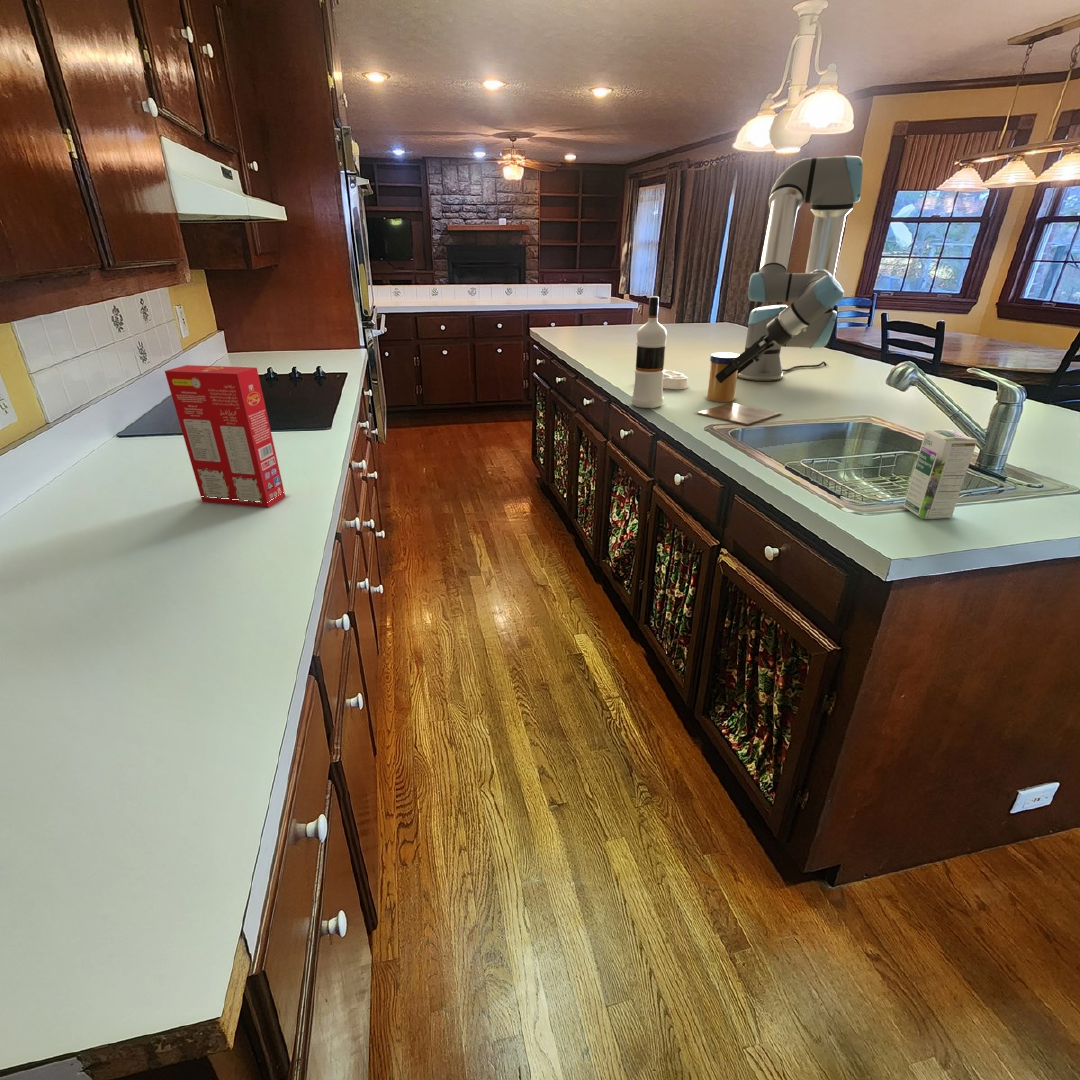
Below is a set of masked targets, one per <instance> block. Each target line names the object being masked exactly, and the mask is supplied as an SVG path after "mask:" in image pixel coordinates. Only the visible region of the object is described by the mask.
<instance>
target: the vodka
mask: <svg viewBox="0 0 1080 1080" xmlns="http://www.w3.org/2000/svg"><path fill="white" fill-rule="evenodd" d="M659 302H660V297H659V296H656V295H652V296H649V301H648V314H647V315H648V317H647V322H645V323H644V324H643V325H641V326H640V327H639V328H638V329H637V332H636V342H635V343H636V356H635V370H634V386H633V392H632V396H631V404H632V405H633V406H634V407H636V408H639V409H657V408H660V407H661V406H663V404H664V400H665V399H664V390H663V389H664V388H663V374H664V370H663V369H665V357H666V345H667V338H668V331H667V329H666V327H665V326H663V325H662V324H661V323H660V322H659V321H658V320H659V319H658V316H659Z"/></svg>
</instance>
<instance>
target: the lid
mask: <svg viewBox="0 0 1080 1080" xmlns="http://www.w3.org/2000/svg"><path fill="white" fill-rule="evenodd" d="M739 355H740V354H739V353H735V352H713V353H711V354H710V358H709V362H710V363H711V362H713V363H719V364H730V363H731V362H732V361H731V359H732V358H733V359H735V358H737V357H738V356H739ZM737 361H738V360H737ZM738 363H739V361H738Z"/></svg>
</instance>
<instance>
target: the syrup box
mask: <svg viewBox="0 0 1080 1080" xmlns="http://www.w3.org/2000/svg"><path fill="white" fill-rule="evenodd" d="M977 444H978V439H977V438H973V437H970V436H968V435H965V434H963V433H960V432H958V431H957V430H952V429H931V430H926V431H925V432H924V435H923V438H922V441H921V445H920V448H919V451H918V455H917V459H916V462H915V465H914V469H913V473H912V475H911V476H912V477H911V479H910V483H909V487H908V490H907V493H906V497H905V500H904V503H903V508H904V509H906V510H908V511H909V512H911V513H913V514H914V515H915V516H917V517H919V519H921V520H935V519H950V518H952V517H953V515H954V512H955V508H956V506H957V502H958V500H959V497H960V494H961V491H962V488H963V485H964V482H965V479H966V476H967V474H968V471H969V470H968V469H969V467H970V464H971V461H972V458H973V455H974V453H975V450H976V446H977Z"/></svg>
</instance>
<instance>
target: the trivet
mask: <svg viewBox="0 0 1080 1080" xmlns="http://www.w3.org/2000/svg"><path fill="white" fill-rule="evenodd" d="M697 415H701V416H705V417H709V418H713V419H717V420H721V421H726V422H730V423H735V424H738V425H742V426H750V425H754V424H757V423H760V422H762V421H766V420H769V419H772V418H774V417H779V416H781V415H782V413H781V412H779V411H774V410H768V409H763V408H759V407H754V406H750V405H745V404H741V403H735V402H727V403H725V404H722V405H718V406H715V407H711V408H707V409H704V410H700V411H698V412H697Z"/></svg>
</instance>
